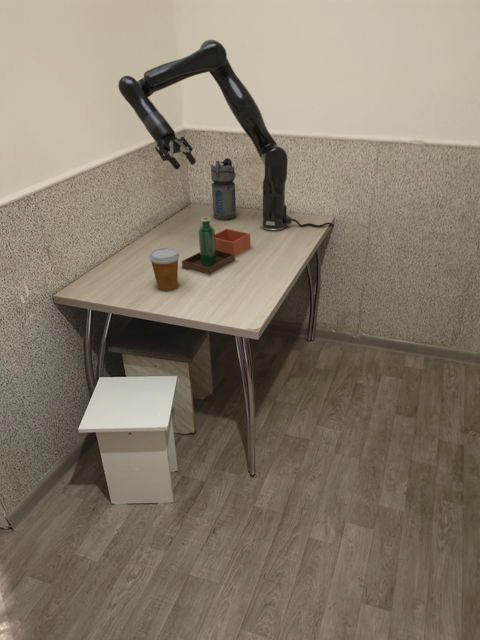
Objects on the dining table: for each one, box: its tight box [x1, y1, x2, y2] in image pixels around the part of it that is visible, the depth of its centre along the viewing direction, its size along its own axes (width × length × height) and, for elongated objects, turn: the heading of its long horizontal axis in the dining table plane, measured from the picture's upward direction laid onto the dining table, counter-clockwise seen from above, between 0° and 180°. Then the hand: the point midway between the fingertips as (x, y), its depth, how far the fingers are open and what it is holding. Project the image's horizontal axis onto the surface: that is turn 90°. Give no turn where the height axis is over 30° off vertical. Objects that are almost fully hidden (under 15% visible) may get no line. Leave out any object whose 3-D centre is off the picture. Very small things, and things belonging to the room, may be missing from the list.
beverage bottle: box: [210, 157, 237, 221], centre depth 224 cm, size 10×13×25 cm
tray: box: [181, 250, 236, 277], centre depth 183 cm, size 15×12×3 cm
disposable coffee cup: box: [148, 247, 180, 292], centre depth 165 cm, size 10×10×12 cm
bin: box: [215, 228, 251, 257], centre depth 195 cm, size 11×11×6 cm
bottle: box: [197, 216, 216, 266], centre depth 180 cm, size 6×6×16 cm
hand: (186, 165), depth 182 cm, fingers open, 8 cm apart
